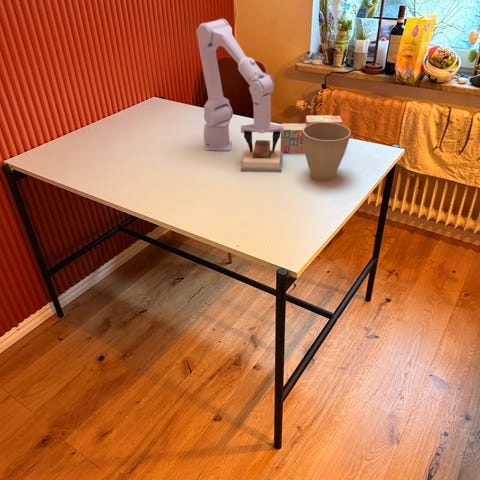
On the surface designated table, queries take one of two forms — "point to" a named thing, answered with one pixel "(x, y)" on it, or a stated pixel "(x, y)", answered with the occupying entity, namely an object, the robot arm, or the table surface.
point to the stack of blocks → (301, 133)
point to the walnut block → (262, 149)
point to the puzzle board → (262, 161)
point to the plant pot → (325, 148)
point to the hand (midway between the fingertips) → (262, 151)
